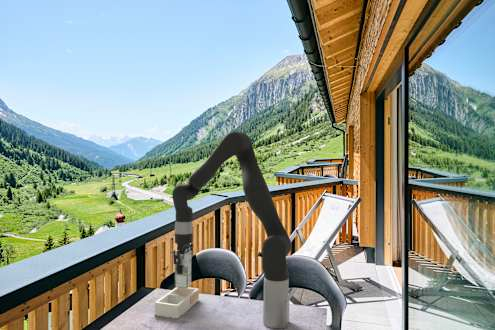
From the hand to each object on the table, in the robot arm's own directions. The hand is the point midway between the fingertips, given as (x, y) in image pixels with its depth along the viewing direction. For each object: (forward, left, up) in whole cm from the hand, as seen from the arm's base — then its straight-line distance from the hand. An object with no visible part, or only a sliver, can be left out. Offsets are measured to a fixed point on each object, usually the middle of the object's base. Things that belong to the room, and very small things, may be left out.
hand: (183, 271), depth 152 cm
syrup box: (0, 0, -6) cm, 6 cm away
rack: (0, +5, -14) cm, 14 cm away
